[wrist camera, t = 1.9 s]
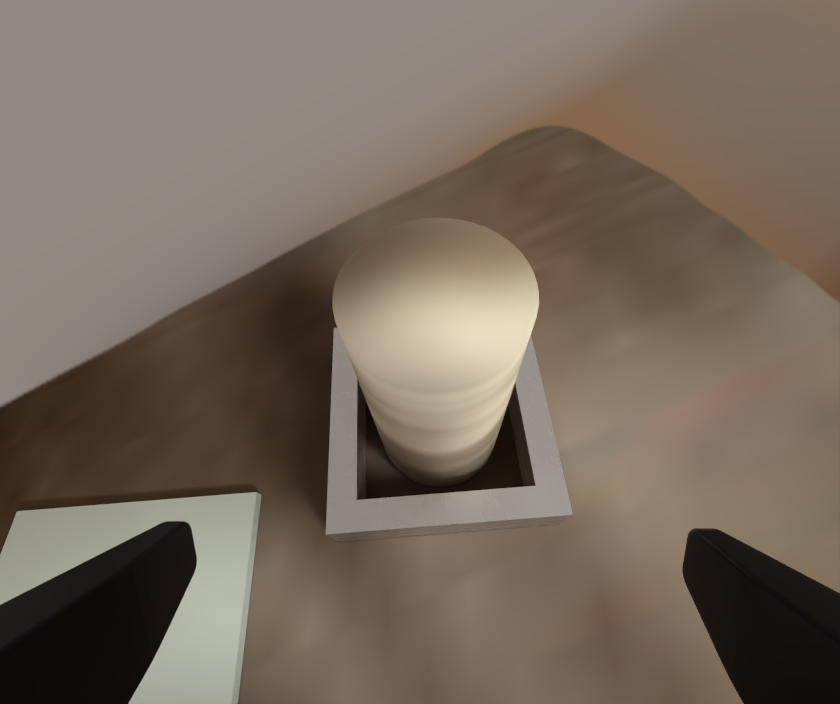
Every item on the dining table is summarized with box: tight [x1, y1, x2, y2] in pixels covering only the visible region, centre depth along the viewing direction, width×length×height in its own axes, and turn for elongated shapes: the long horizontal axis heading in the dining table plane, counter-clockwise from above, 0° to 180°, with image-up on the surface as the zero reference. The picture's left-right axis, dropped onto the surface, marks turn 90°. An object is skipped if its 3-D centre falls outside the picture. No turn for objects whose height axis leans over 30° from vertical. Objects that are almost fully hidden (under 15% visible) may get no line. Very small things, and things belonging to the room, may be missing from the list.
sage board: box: [0, 492, 261, 704], centre depth 17 cm, size 11×11×1 cm
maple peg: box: [332, 218, 539, 487], centre depth 17 cm, size 6×6×11 cm
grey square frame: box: [326, 328, 573, 542], centre depth 20 cm, size 10×10×2 cm
